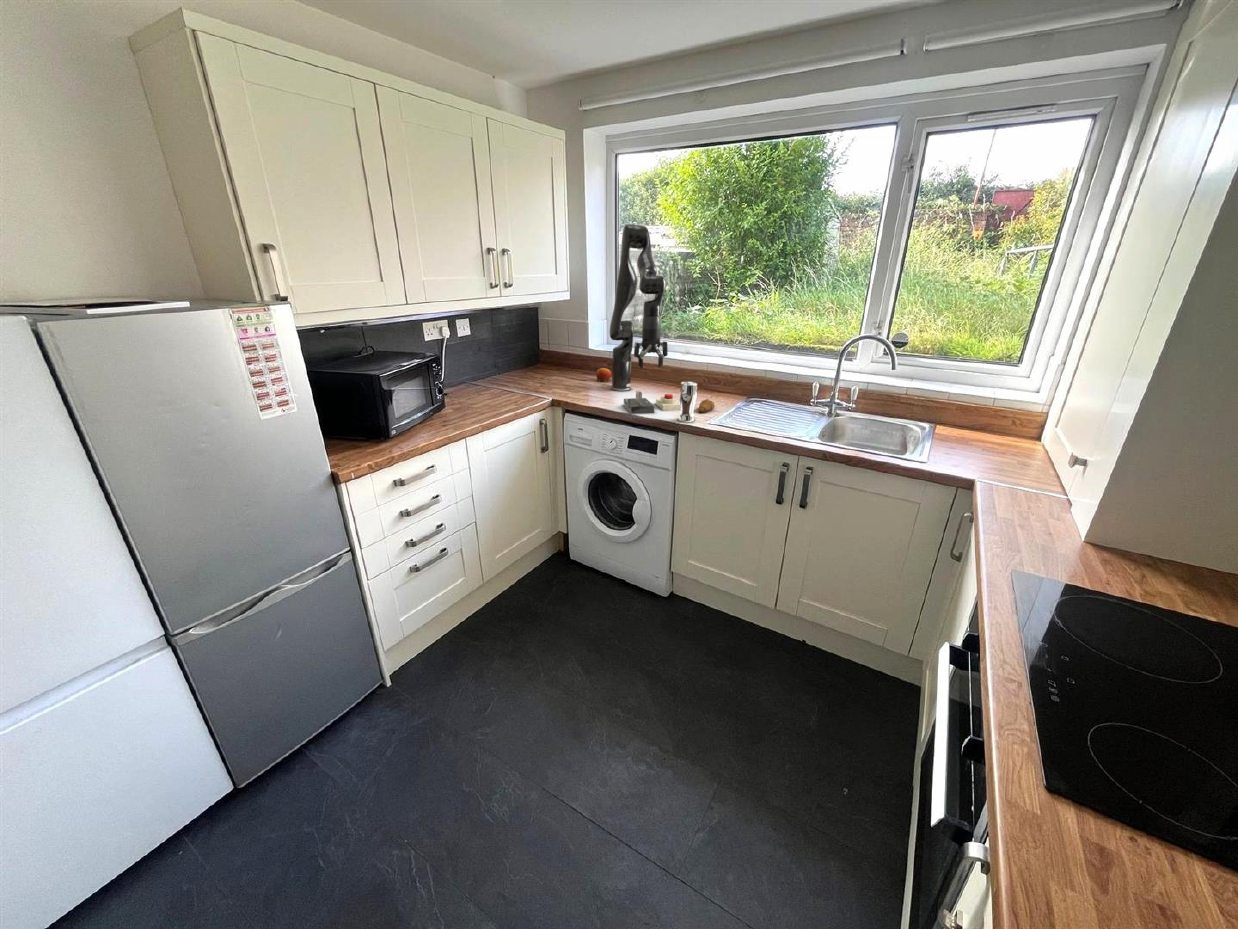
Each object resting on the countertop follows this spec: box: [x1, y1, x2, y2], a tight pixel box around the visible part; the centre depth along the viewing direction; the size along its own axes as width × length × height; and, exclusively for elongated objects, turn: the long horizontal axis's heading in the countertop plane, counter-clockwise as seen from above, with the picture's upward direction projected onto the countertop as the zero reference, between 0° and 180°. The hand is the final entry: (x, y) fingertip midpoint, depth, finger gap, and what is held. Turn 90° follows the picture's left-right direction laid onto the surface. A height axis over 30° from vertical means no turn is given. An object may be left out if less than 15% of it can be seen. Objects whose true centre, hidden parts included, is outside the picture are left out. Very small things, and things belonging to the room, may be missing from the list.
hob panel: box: [623, 397, 655, 415], centre depth 214 cm, size 14×10×3 cm
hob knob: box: [635, 389, 643, 404], centre depth 213 cm, size 5×1×5 cm, turn 13°
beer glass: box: [678, 381, 698, 423], centre depth 198 cm, size 7×7×15 cm
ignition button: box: [663, 393, 674, 399], centre depth 218 cm, size 4×4×2 cm
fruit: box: [595, 367, 612, 383], centre depth 265 cm, size 8×8×8 cm
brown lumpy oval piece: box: [698, 398, 716, 414], centre depth 215 cm, size 14×7×5 cm, turn 151°
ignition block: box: [655, 395, 680, 411], centre depth 219 cm, size 11×8×4 cm
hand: (650, 367), depth 210 cm, fingers open, 8 cm apart
